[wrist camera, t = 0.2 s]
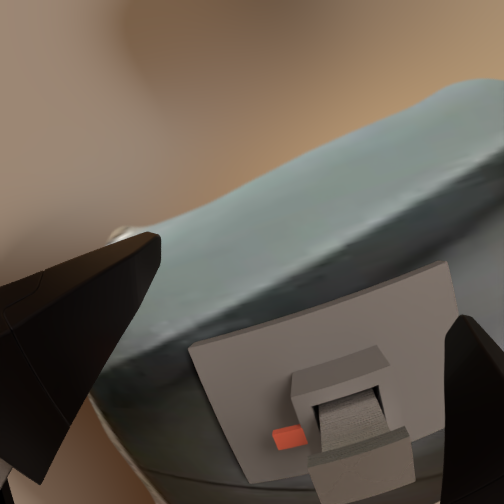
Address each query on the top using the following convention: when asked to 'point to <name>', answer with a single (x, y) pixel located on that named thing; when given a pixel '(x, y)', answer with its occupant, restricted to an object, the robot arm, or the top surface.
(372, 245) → the top surface
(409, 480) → the grey-brown stepped block
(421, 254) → the top surface
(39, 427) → the robot arm
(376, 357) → the jack stand base
